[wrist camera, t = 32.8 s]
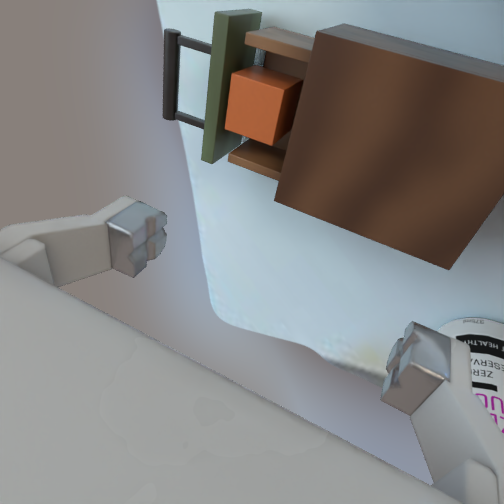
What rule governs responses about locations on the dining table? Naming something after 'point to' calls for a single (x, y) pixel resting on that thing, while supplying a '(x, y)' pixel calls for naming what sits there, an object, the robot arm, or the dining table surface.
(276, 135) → the block
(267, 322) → the dining table surface
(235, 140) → the drawer
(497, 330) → the supplement can
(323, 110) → the cabinet
